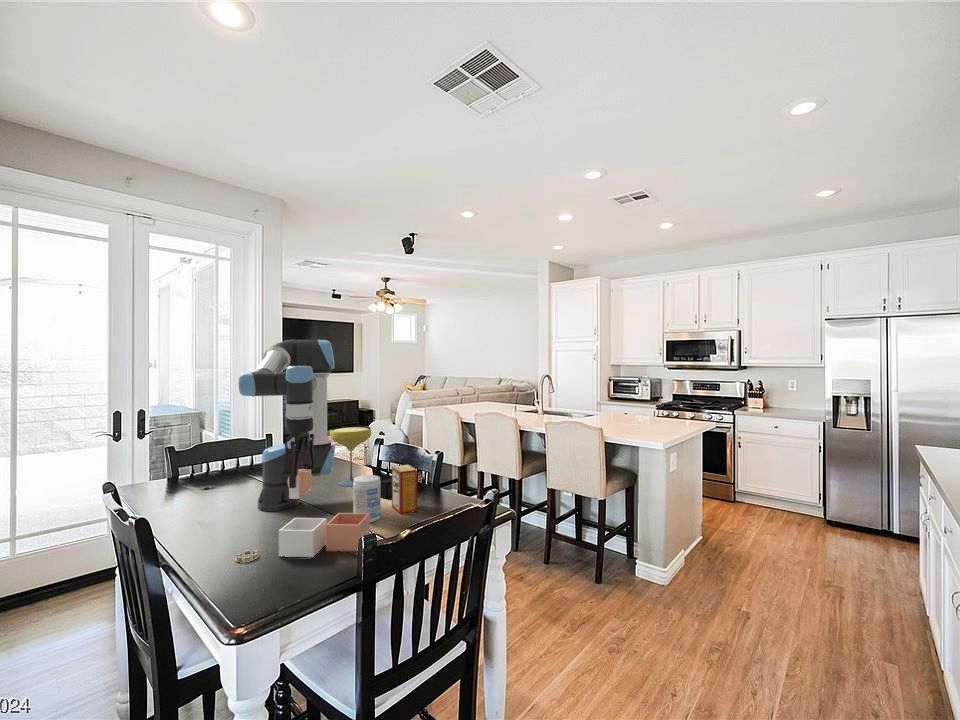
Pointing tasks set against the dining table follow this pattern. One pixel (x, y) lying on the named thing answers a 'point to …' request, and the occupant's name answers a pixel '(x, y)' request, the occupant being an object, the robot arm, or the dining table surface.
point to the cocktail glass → (350, 442)
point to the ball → (304, 480)
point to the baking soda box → (404, 488)
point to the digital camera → (386, 489)
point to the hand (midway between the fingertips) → (300, 494)
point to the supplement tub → (367, 496)
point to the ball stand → (239, 558)
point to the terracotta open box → (346, 531)
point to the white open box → (302, 537)
